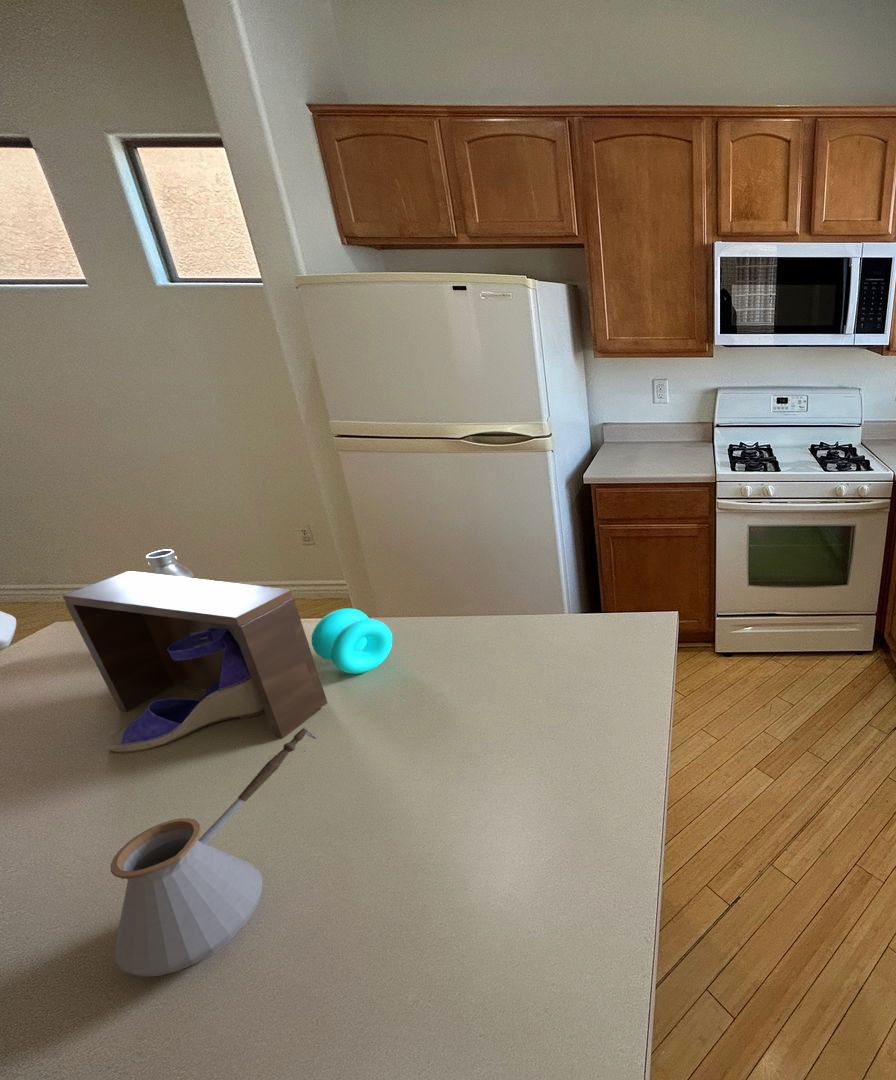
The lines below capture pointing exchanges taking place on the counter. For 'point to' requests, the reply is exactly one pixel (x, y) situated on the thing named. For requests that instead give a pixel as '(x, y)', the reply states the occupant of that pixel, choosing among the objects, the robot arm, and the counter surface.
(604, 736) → the counter surface
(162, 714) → the sandal
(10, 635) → the robot arm
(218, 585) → the shoe rack
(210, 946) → the coffee pot
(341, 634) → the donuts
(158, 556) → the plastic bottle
